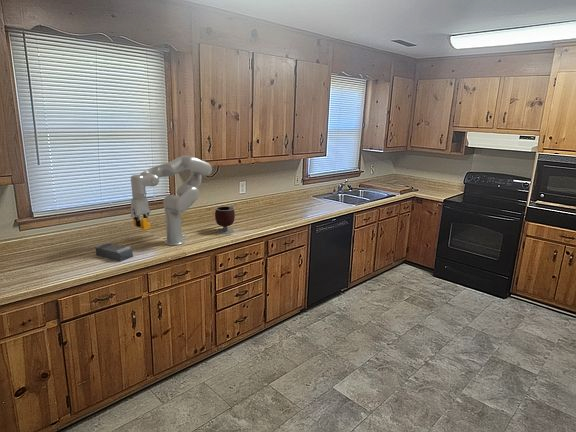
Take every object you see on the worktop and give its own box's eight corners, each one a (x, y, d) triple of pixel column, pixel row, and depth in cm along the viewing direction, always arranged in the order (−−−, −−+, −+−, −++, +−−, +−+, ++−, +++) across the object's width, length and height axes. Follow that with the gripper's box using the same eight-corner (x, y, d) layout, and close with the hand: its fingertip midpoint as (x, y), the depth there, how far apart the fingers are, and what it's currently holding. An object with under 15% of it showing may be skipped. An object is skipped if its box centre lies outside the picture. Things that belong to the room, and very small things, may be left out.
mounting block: (109, 250, 237) (108, 241, 235) (133, 256, 228) (132, 246, 227) (96, 255, 229) (95, 245, 228) (120, 261, 221) (119, 251, 219)
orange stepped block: (150, 228, 233) (149, 217, 232) (144, 229, 230) (143, 219, 229) (140, 224, 241) (139, 214, 239) (133, 225, 238) (132, 215, 236)
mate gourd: (219, 235, 272) (218, 207, 267) (212, 229, 284) (212, 203, 279) (239, 232, 279) (239, 205, 274) (232, 227, 291) (232, 201, 286)
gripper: (145, 192, 239) (148, 220, 244) (123, 198, 224) (126, 228, 229) (154, 193, 236) (157, 222, 241) (132, 199, 221) (135, 230, 226)
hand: (142, 225), depth 235 cm, fingers closed on orange stepped block, 4 cm apart
